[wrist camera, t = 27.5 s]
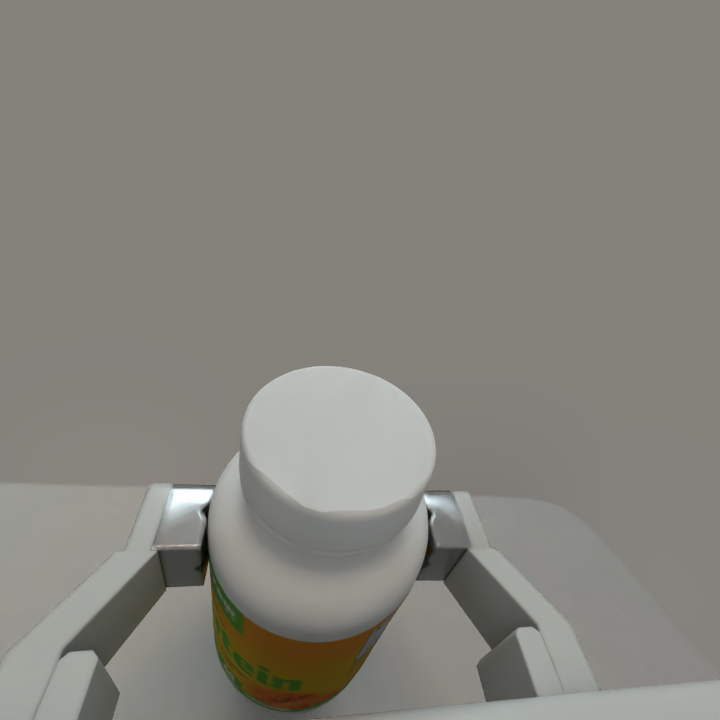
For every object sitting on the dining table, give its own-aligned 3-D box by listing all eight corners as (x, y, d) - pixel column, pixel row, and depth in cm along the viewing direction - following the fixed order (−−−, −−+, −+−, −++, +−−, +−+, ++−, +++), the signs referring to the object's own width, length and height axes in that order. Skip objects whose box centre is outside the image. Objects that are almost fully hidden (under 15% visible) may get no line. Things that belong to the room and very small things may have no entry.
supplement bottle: (177, 633, 12) (129, 429, 7) (289, 514, 16) (319, 323, 11) (306, 770, 10) (393, 651, 5) (397, 598, 14) (503, 422, 9)
